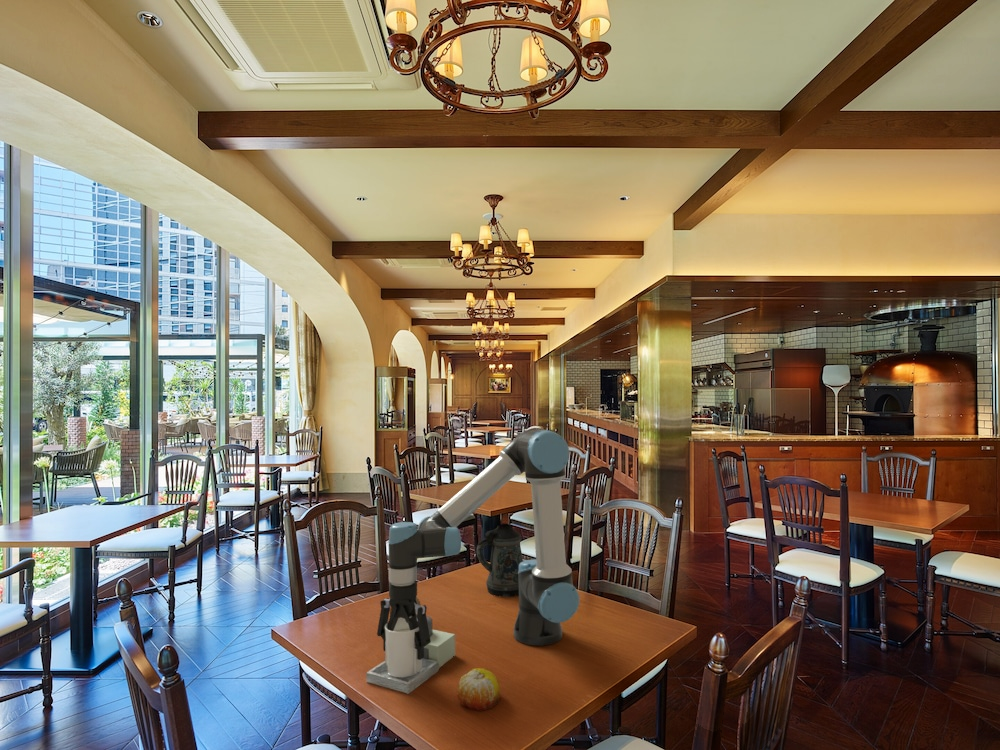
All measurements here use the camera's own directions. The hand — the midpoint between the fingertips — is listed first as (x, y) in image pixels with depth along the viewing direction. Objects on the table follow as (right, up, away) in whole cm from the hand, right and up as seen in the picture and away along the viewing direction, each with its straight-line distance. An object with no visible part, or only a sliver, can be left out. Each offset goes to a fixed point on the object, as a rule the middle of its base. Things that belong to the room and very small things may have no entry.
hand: (403, 667), depth 150 cm
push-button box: (+3, -3, +12) cm, 13 cm away
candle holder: (0, -1, 0) cm, 1 cm away
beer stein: (+28, -5, +66) cm, 72 cm away
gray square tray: (0, -2, 0) cm, 2 cm away
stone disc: (-5, -4, +33) cm, 34 cm away
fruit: (+21, -2, -13) cm, 24 cm away
